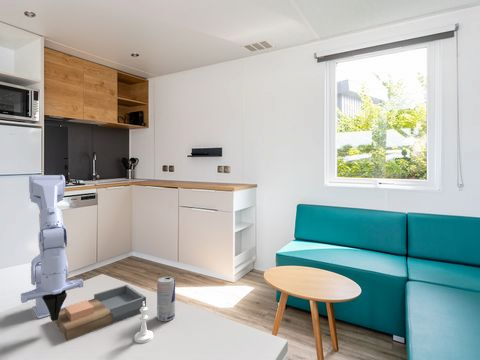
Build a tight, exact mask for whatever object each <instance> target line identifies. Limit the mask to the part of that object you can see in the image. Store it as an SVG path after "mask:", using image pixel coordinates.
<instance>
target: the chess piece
mask: <svg viewBox="0 0 480 360" xmlns="http://www.w3.org/2000/svg"><path fill="white" fill-rule="evenodd" d="M142 305H143V307H142V308H140V312H141V313H140V316H139V320H141V327H140V331H137V332H136V334H134V338H133V341H134V342H135V343H137V344H145V343H148V342H150V341H151V340H152V339H153V338H154V332H153V331H152V330H148V327H147V321H146V320H147V319H148V318H149V315H147V312H148V311H149V310H148V306H146V307H145V301H143V303H142Z"/></svg>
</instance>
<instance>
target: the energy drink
mask: <svg viewBox="0 0 480 360" xmlns="http://www.w3.org/2000/svg"><path fill="white" fill-rule="evenodd" d="M156 288H157V289H156V300H157V301H156V304H157V305H156V317H157V320H158V321H160V322H169V321H171V320H173V319H174V318H175V316H176V279H175V277H174V276H169V275H167V276H166V275H164V276H161V277H159V278H158V279H157V282H156Z"/></svg>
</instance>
